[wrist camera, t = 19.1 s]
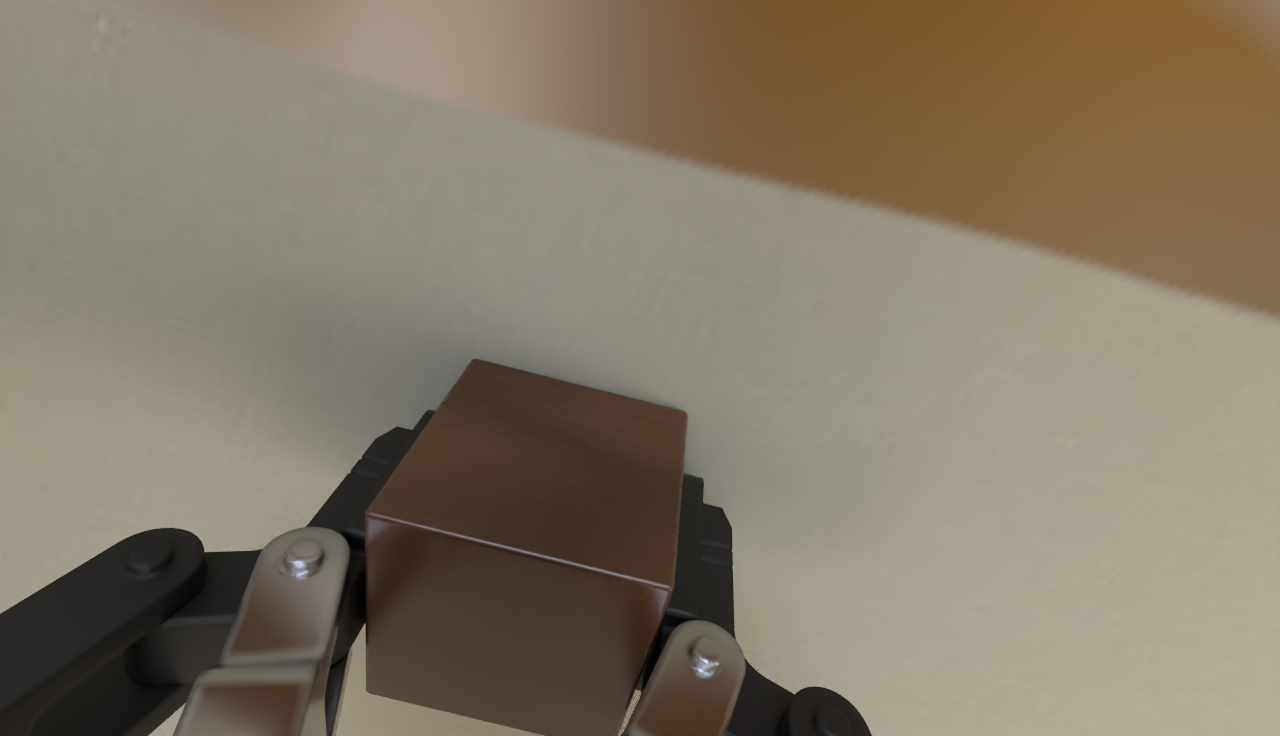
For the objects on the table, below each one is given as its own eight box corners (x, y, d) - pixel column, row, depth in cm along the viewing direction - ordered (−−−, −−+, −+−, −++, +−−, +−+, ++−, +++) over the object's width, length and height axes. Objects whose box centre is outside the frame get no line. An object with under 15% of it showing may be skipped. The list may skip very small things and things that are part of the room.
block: (456, 514, 15) (363, 694, 11) (472, 355, 13) (362, 512, 9) (640, 560, 15) (611, 754, 11) (688, 410, 13) (675, 589, 9)
